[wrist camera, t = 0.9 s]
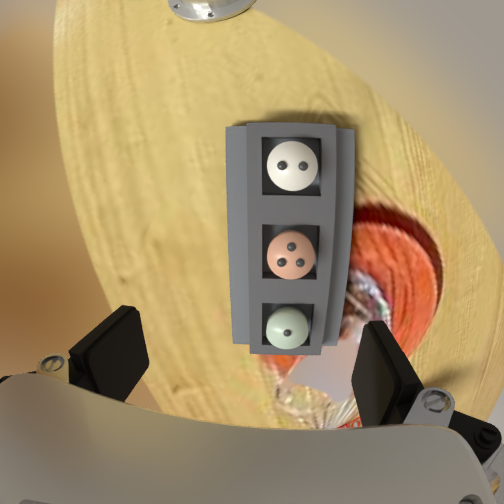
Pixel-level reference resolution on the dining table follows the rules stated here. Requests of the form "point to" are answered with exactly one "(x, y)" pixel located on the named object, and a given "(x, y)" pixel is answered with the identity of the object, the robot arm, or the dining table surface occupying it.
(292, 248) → the button three
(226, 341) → the dining table surface
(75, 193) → the dining table surface
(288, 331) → the button one
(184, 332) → the dining table surface
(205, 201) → the dining table surface
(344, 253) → the button board
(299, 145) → the button two
